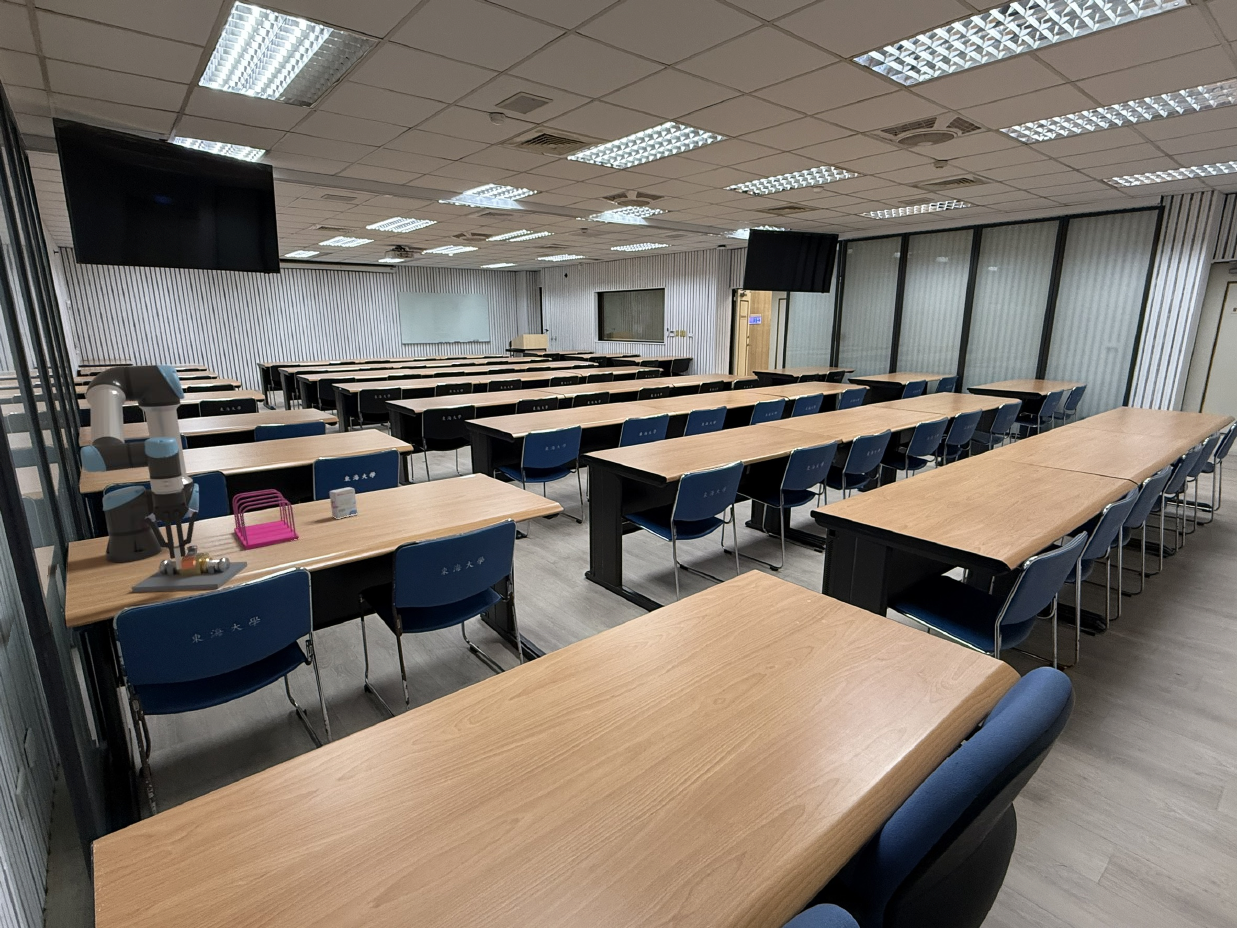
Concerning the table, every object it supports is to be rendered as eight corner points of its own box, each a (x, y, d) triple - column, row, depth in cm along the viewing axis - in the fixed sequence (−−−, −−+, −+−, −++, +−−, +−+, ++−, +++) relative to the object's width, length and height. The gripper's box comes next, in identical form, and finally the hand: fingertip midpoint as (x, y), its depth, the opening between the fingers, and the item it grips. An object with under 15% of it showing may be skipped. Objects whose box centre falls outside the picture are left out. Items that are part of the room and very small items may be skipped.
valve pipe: (159, 578, 187) (156, 561, 186) (171, 570, 193) (168, 554, 192) (222, 575, 189) (219, 558, 188) (231, 568, 195) (229, 552, 194)
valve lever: (188, 554, 191) (186, 546, 190) (199, 553, 192) (198, 544, 191) (182, 570, 178) (180, 561, 177) (194, 568, 180) (193, 559, 179)
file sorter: (245, 550, 214) (239, 508, 211) (234, 532, 233) (228, 493, 229) (299, 540, 225) (294, 499, 221) (284, 523, 244) (279, 486, 240)
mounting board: (132, 592, 180) (131, 587, 179) (169, 568, 197) (169, 564, 197) (218, 588, 182) (217, 583, 182) (247, 565, 200) (246, 561, 199)
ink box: (351, 513, 257) (349, 486, 255) (357, 515, 254) (355, 488, 252) (331, 517, 251) (328, 490, 248) (337, 520, 248) (334, 492, 245)
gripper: (139, 497, 168) (151, 576, 173) (195, 490, 175) (206, 567, 180) (140, 491, 174) (153, 567, 179) (195, 485, 181) (205, 559, 186)
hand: (179, 567), depth 179 cm, fingers closed
